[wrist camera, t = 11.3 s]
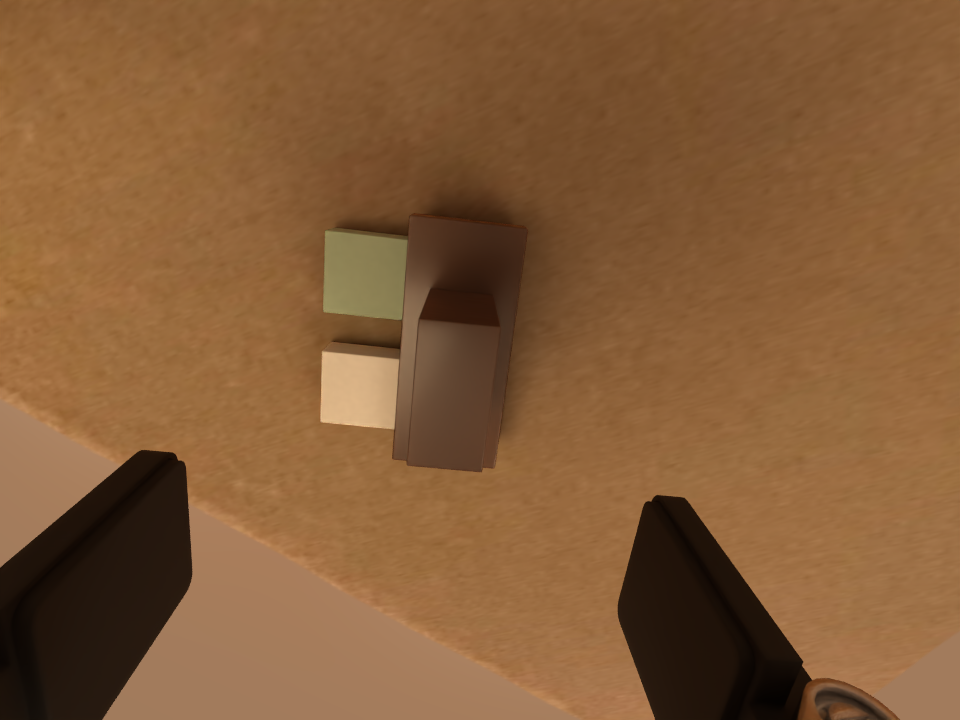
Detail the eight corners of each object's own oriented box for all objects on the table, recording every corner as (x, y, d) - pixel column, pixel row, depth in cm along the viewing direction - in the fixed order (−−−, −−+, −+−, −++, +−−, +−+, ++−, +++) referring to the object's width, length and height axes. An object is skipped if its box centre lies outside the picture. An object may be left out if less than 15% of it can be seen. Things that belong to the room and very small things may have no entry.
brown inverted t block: (399, 434, 30) (371, 532, 21) (415, 211, 26) (389, 222, 18) (492, 442, 30) (501, 542, 22) (522, 224, 26) (547, 240, 18)
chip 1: (331, 304, 27) (322, 312, 26) (334, 227, 26) (324, 230, 25) (407, 313, 28) (403, 321, 26) (413, 236, 26) (409, 239, 25)
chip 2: (328, 408, 29) (320, 422, 28) (330, 341, 28) (321, 351, 26) (399, 415, 30) (395, 429, 28) (404, 349, 28) (400, 359, 27)
